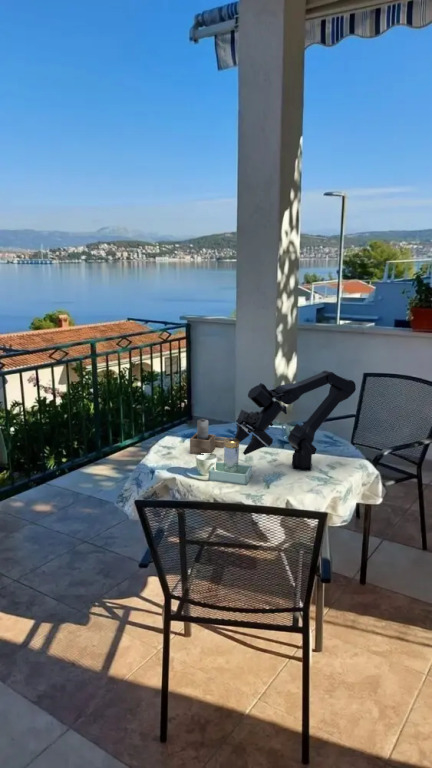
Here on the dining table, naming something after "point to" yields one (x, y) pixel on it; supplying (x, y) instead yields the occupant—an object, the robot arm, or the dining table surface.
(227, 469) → the cell
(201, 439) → the bin
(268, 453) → the dining table surface
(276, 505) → the dining table surface
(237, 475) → the trough
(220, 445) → the wooden switch box
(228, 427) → the dining table surface
